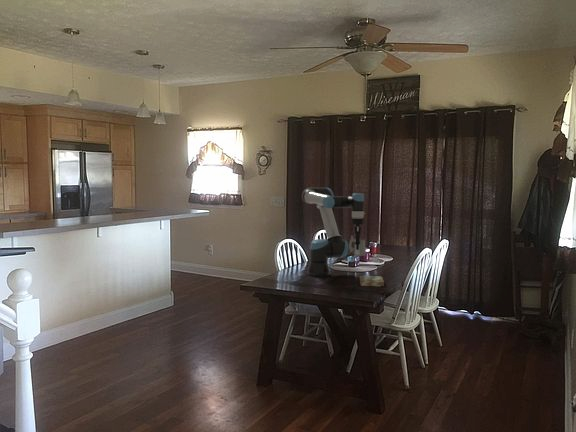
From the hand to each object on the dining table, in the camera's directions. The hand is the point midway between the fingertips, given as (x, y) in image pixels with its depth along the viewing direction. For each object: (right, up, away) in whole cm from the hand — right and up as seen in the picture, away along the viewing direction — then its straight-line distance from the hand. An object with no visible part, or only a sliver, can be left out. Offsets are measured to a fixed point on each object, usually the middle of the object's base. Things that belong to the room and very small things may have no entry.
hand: (357, 253), depth 303 cm
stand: (+9, -19, -2) cm, 21 cm away
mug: (0, -1, +1) cm, 1 cm away
